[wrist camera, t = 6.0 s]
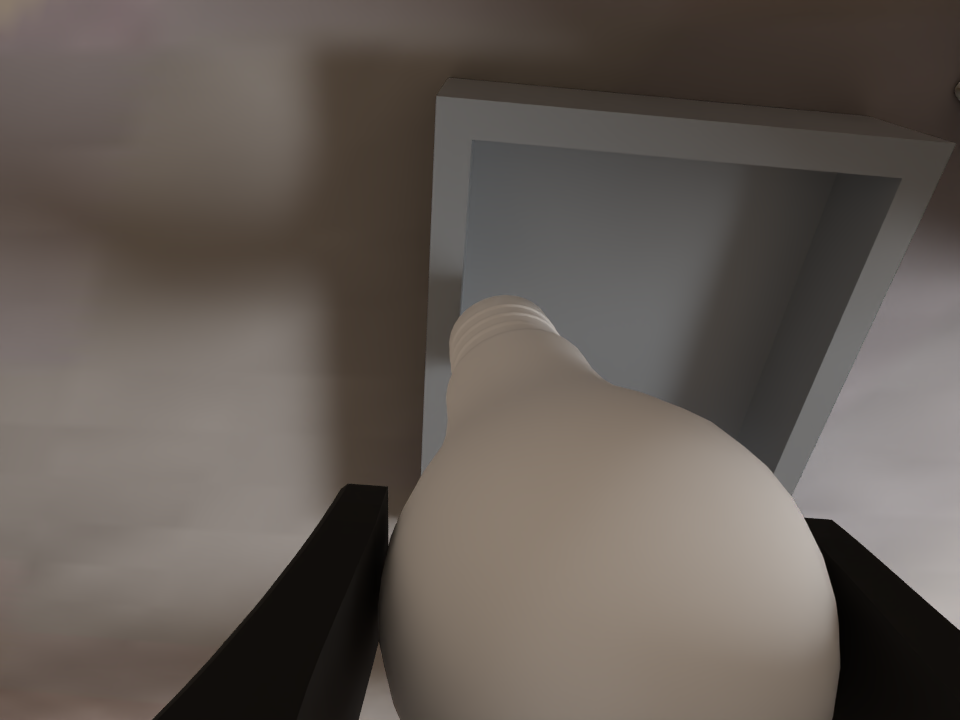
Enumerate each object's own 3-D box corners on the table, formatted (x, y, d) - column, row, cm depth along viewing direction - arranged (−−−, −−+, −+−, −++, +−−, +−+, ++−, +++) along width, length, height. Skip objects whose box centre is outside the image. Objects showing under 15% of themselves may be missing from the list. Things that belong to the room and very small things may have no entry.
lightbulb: (343, 233, 13) (303, 820, 4) (611, 184, 14) (1098, 628, 5) (399, 438, 17) (441, 1002, 8) (611, 395, 17) (888, 884, 8)
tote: (702, 544, 24) (732, 622, 21) (426, 522, 24) (415, 598, 21) (868, 116, 16) (956, 143, 13) (448, 77, 16) (436, 95, 13)
